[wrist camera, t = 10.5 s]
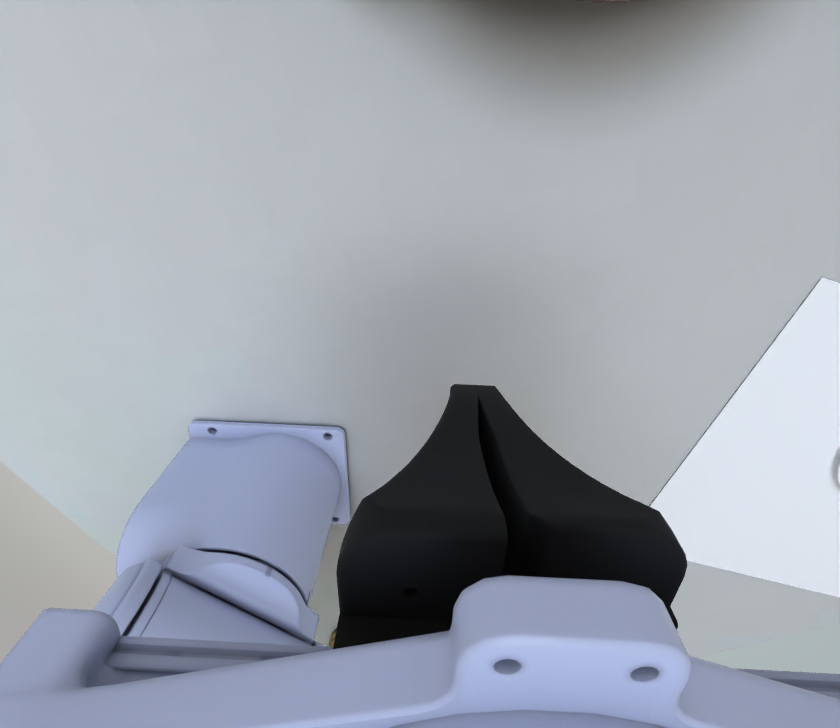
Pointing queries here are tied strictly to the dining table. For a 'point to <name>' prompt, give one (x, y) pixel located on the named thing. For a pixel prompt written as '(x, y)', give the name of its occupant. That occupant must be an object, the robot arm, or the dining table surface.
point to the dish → (609, 0)
